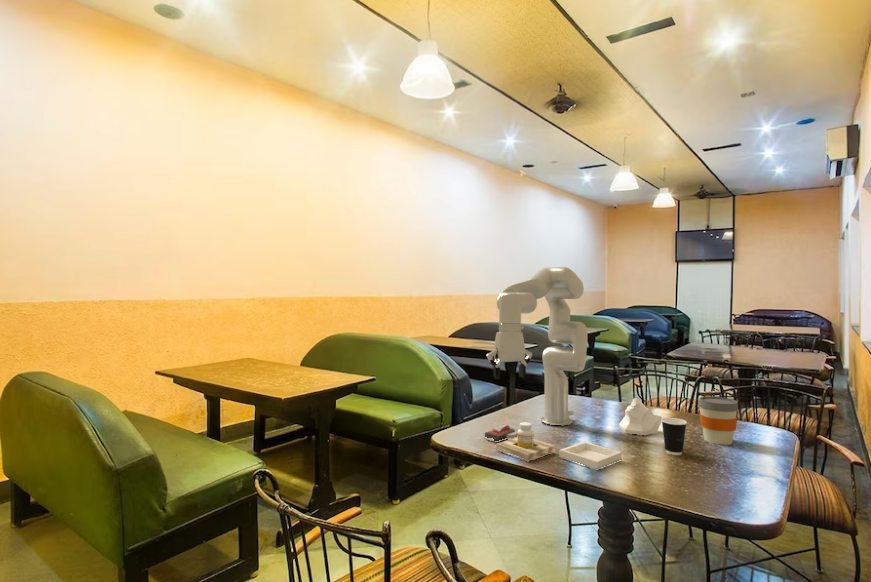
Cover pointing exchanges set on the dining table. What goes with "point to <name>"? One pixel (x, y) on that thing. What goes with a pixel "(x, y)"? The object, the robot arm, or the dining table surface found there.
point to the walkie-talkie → (501, 433)
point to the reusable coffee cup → (718, 419)
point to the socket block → (535, 451)
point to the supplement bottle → (525, 435)
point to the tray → (590, 455)
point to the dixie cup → (674, 435)
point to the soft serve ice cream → (640, 419)
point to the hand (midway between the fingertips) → (509, 377)
